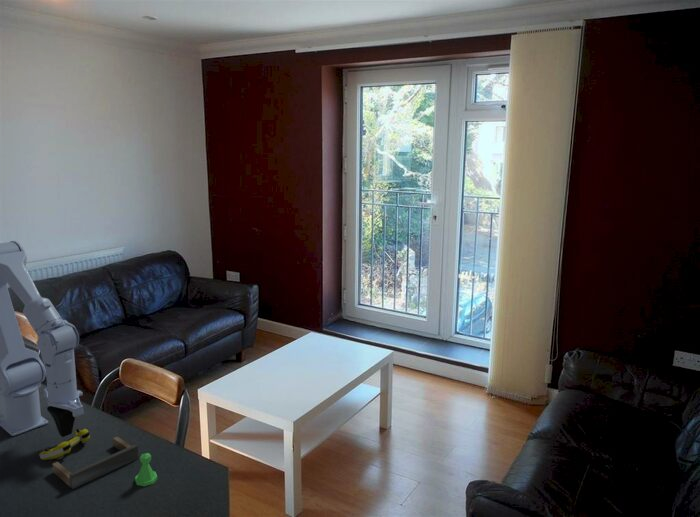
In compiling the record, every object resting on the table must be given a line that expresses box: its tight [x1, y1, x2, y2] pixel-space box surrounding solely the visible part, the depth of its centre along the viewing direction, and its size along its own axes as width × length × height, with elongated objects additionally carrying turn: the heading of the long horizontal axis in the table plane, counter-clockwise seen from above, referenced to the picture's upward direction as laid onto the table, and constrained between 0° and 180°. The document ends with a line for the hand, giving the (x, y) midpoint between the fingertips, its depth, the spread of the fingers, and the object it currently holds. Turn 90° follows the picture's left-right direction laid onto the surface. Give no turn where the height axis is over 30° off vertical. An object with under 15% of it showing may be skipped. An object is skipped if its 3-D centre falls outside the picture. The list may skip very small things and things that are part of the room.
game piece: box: [134, 452, 158, 487], centre depth 107 cm, size 4×4×6 cm
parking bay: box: [52, 436, 139, 490], centre depth 111 cm, size 8×14×3 cm, turn 142°
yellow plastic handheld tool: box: [38, 428, 91, 461], centre depth 117 cm, size 10×6×4 cm, turn 162°
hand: (65, 434), depth 119 cm, fingers closed
